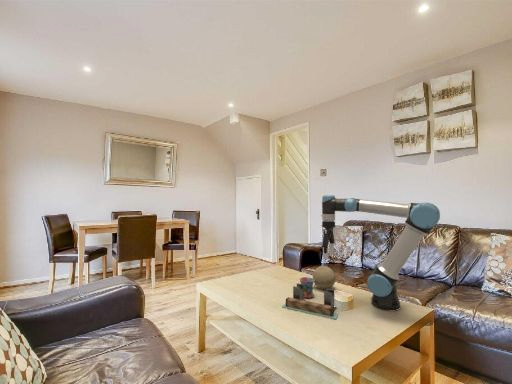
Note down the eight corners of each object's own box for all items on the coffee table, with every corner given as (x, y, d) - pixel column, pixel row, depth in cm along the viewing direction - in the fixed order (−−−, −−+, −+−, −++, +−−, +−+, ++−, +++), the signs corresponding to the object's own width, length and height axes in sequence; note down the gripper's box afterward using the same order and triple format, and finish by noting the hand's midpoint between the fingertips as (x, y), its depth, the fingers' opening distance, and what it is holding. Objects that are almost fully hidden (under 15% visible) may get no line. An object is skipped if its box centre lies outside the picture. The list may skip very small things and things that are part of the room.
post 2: (336, 307, 149) (336, 289, 149) (332, 313, 141) (332, 294, 141) (326, 305, 152) (325, 287, 152) (321, 311, 144) (321, 292, 144)
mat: (338, 315, 139) (338, 314, 139) (336, 319, 134) (336, 318, 134) (285, 303, 154) (285, 302, 154) (281, 307, 149) (281, 306, 149)
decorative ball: (340, 290, 175) (340, 268, 175) (321, 293, 169) (321, 270, 169) (326, 283, 189) (326, 262, 189) (308, 286, 183) (308, 264, 183)
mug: (305, 300, 159) (305, 282, 159) (296, 295, 167) (296, 278, 167) (321, 296, 164) (321, 279, 165) (311, 292, 173) (311, 275, 173)
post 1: (305, 301, 158) (305, 284, 158) (300, 306, 150) (300, 288, 150) (296, 299, 161) (296, 282, 161) (290, 304, 153) (290, 287, 153)
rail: (333, 314, 139) (333, 306, 139) (332, 316, 136) (332, 309, 136) (288, 304, 152) (288, 297, 152) (285, 306, 149) (285, 299, 149)
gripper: (327, 219, 171) (327, 251, 171) (316, 222, 149) (316, 260, 149) (339, 219, 167) (339, 253, 167) (329, 223, 145) (329, 261, 145)
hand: (328, 256), depth 158 cm, fingers open, 13 cm apart
